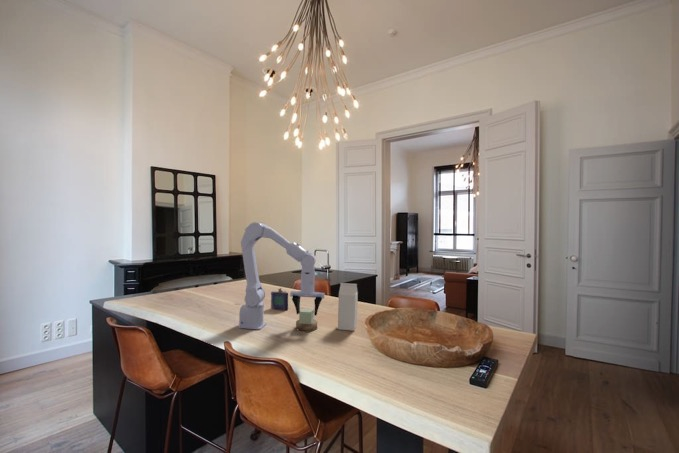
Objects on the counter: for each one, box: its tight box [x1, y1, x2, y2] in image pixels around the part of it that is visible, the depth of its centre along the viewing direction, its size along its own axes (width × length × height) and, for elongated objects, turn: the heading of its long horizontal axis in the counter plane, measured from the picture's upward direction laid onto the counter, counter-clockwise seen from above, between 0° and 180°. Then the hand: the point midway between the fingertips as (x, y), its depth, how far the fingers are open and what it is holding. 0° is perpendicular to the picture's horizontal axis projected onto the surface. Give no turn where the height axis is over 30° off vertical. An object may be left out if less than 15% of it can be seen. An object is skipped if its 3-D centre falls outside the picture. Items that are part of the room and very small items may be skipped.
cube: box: [298, 308, 315, 324], centre depth 131 cm, size 5×5×5 cm
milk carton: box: [337, 282, 359, 332], centre depth 132 cm, size 7×7×19 cm
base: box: [295, 319, 318, 332], centre depth 131 cm, size 9×9×2 cm
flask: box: [270, 287, 289, 312], centre depth 158 cm, size 9×3×11 cm, turn 76°
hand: (306, 314), depth 131 cm, fingers open, 7 cm apart
